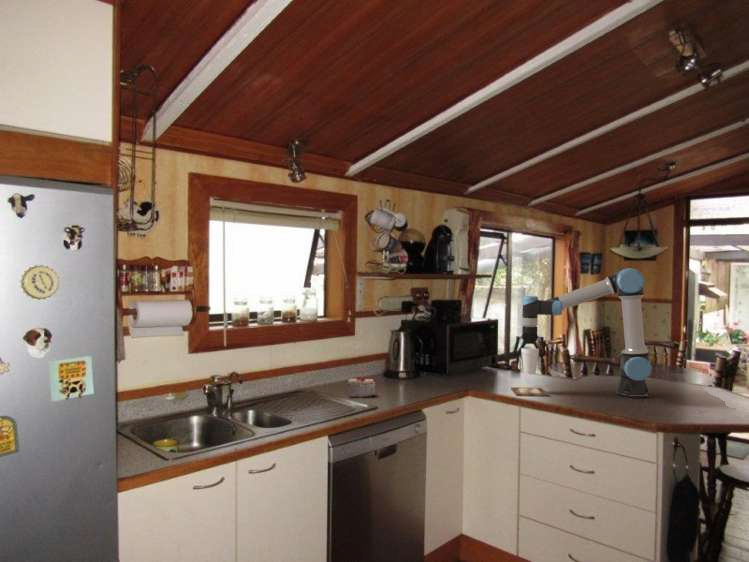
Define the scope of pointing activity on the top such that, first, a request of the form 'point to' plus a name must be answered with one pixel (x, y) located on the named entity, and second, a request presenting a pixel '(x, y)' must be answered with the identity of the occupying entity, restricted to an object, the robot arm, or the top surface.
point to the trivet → (529, 392)
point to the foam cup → (529, 359)
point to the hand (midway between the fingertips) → (529, 369)
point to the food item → (360, 387)
